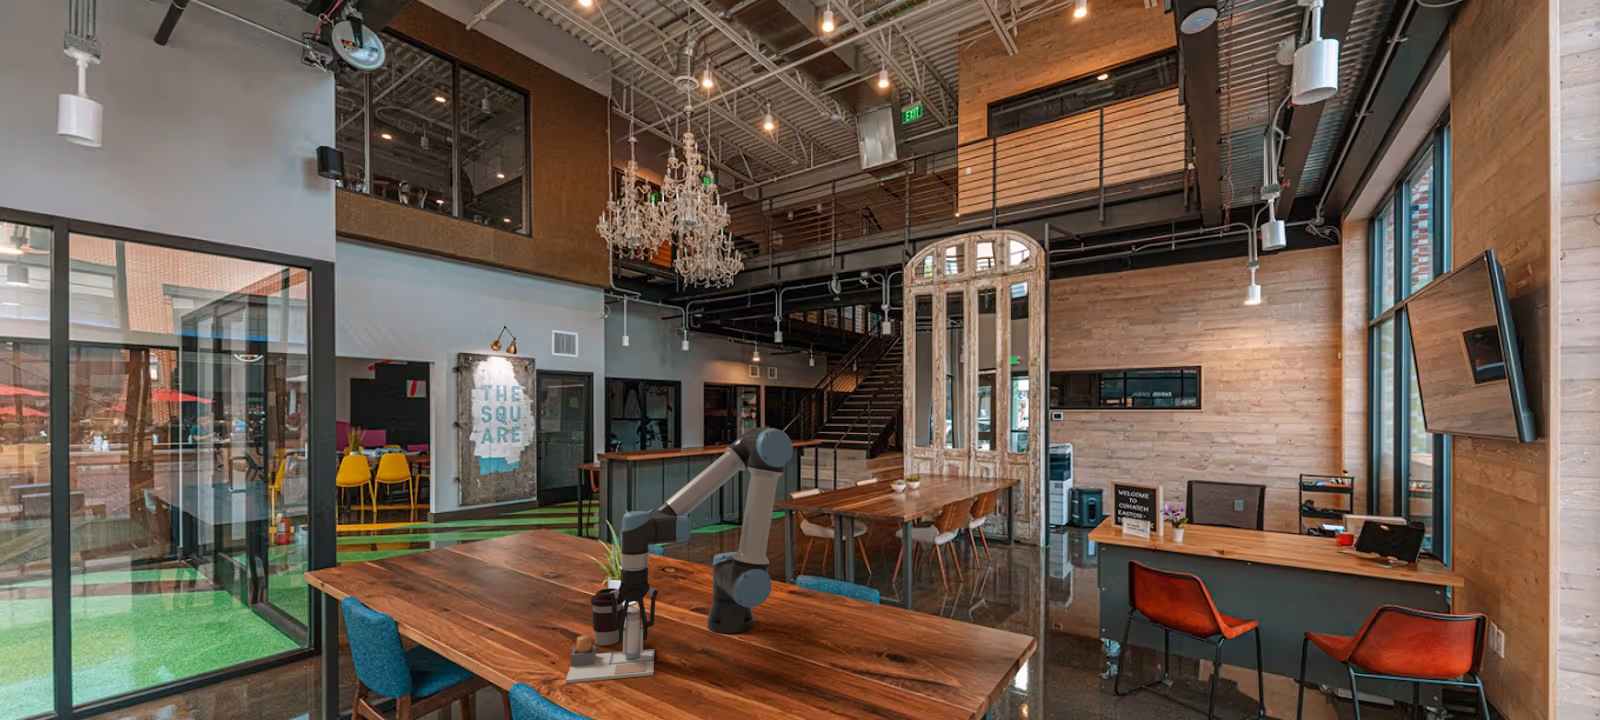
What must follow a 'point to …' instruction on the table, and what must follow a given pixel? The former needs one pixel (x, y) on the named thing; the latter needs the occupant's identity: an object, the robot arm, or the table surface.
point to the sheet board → (608, 665)
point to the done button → (584, 644)
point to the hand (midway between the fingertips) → (632, 652)
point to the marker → (633, 634)
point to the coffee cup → (605, 617)
